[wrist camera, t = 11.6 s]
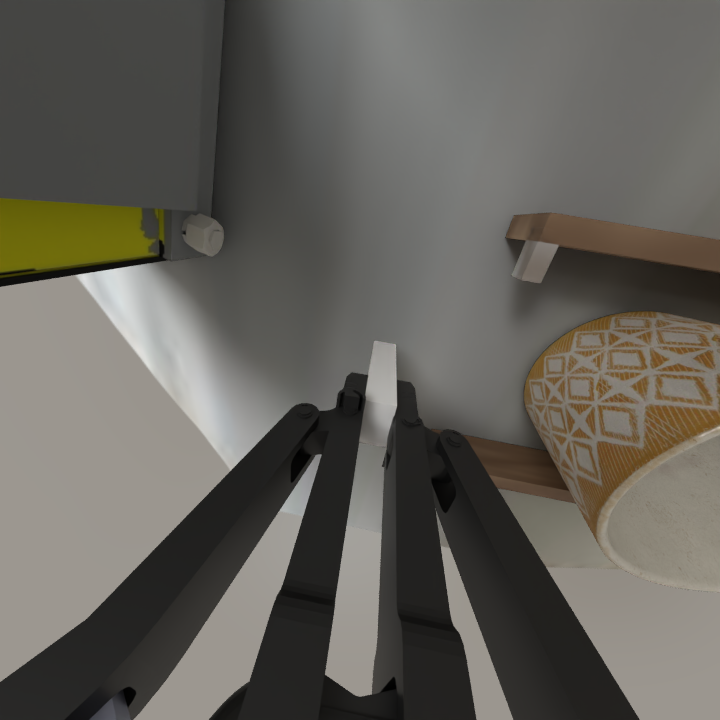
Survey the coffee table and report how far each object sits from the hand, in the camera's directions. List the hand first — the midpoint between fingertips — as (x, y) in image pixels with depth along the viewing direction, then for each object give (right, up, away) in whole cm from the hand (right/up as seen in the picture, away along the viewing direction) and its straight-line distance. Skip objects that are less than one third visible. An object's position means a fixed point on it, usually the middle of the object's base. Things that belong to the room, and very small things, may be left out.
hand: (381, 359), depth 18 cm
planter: (+17, -1, +2) cm, 17 cm away
